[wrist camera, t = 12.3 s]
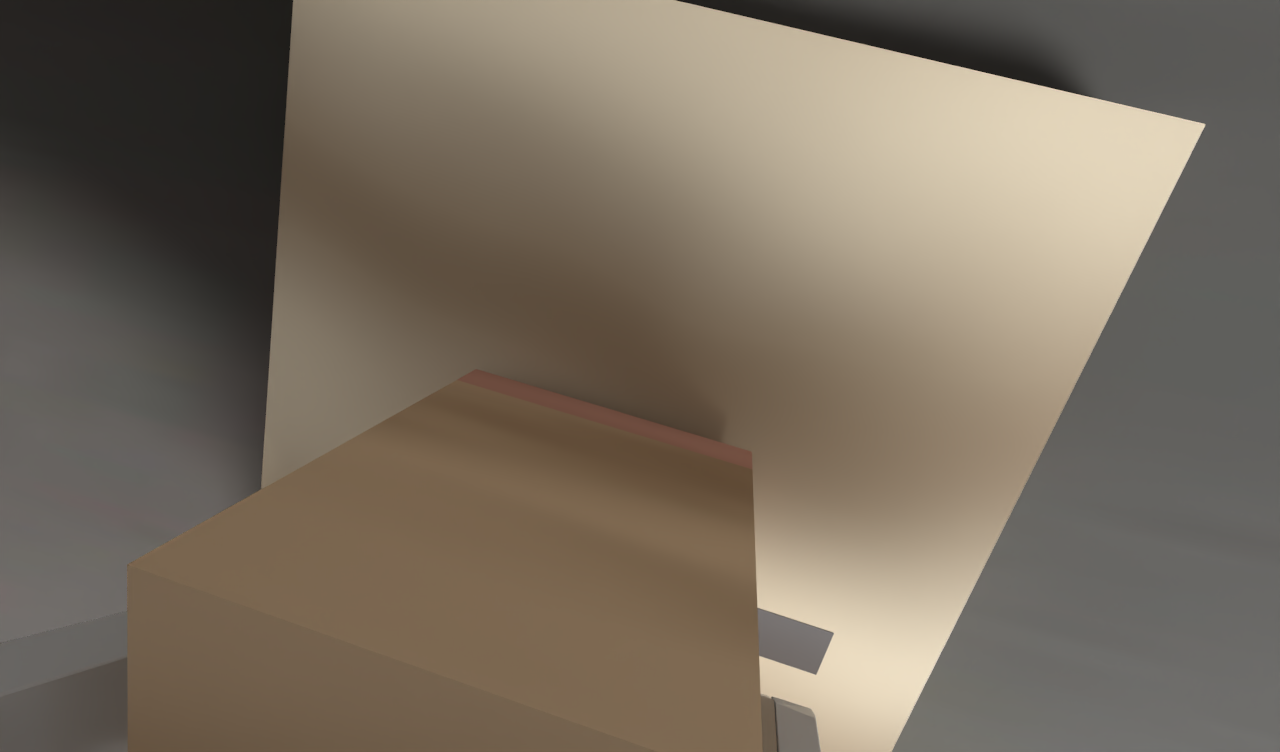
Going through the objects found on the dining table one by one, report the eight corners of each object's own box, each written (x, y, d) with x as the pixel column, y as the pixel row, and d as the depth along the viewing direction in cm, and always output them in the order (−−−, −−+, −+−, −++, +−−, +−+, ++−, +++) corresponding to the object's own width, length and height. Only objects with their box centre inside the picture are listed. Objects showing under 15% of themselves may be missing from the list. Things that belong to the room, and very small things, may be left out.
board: (369, -40, 9) (298, -88, 8) (1123, 139, 8) (1206, 123, 7) (281, 865, 15) (231, 935, 13) (706, 1035, 14) (701, 1130, 12)
